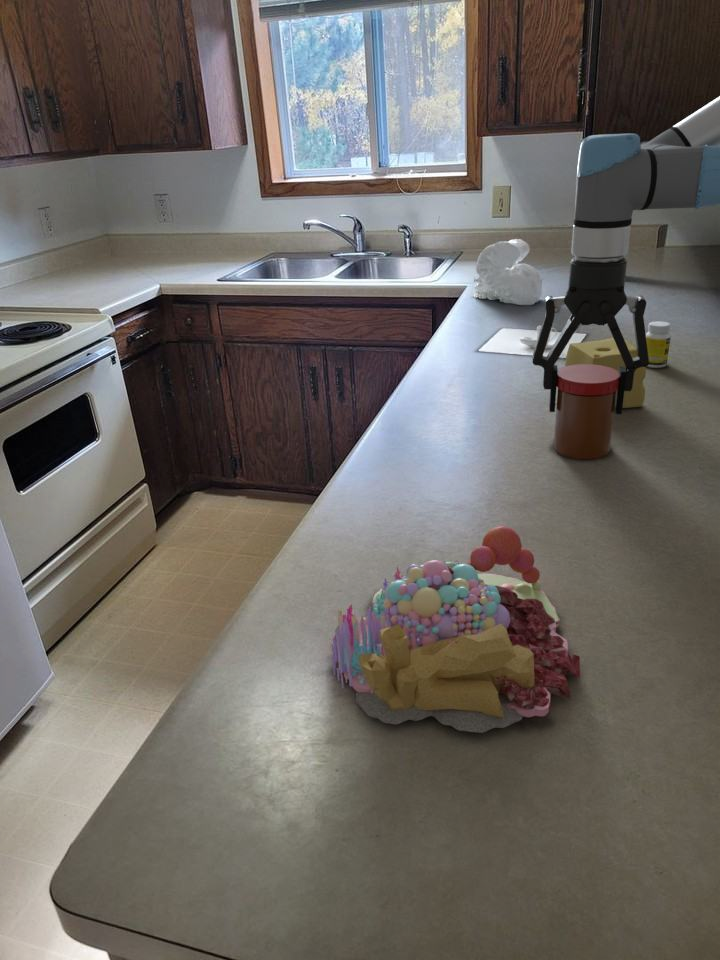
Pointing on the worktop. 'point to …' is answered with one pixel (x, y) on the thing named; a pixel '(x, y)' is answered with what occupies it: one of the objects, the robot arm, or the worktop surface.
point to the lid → (588, 379)
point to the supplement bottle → (658, 343)
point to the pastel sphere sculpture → (458, 643)
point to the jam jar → (583, 425)
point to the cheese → (609, 364)
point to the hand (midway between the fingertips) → (584, 409)
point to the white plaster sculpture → (507, 274)
